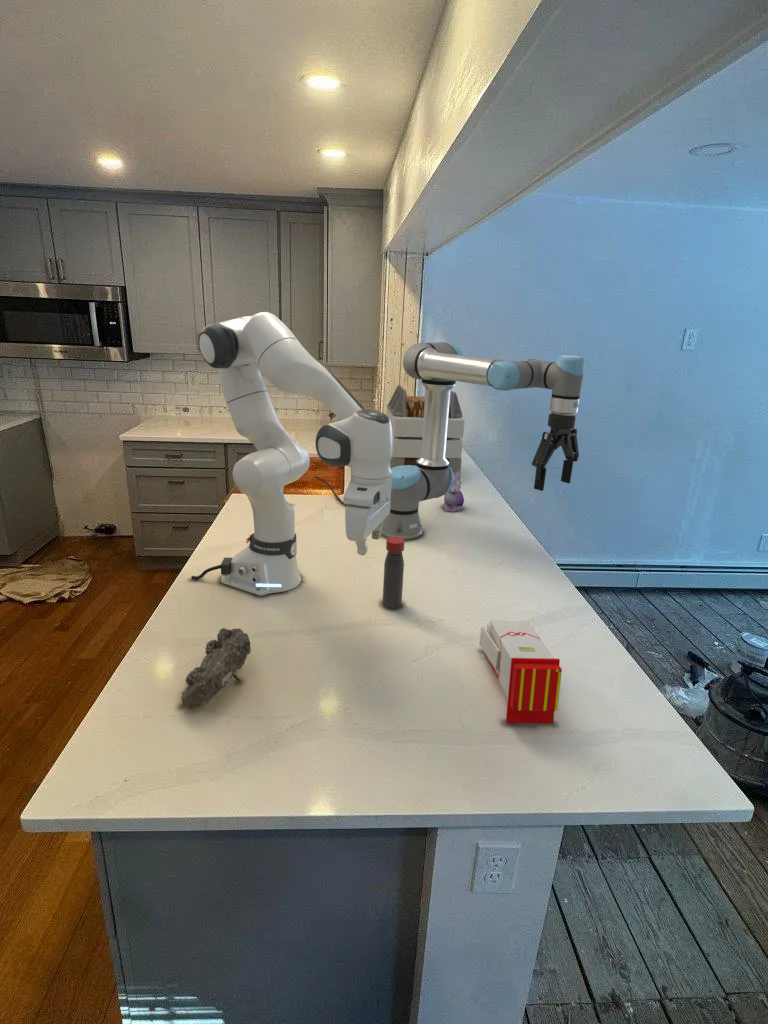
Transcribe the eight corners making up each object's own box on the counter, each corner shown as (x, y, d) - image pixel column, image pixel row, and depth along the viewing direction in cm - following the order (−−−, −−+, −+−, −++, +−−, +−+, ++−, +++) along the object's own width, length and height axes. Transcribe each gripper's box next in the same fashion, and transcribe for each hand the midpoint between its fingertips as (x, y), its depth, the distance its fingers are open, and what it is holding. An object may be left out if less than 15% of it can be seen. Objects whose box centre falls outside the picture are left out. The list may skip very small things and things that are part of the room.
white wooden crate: (382, 463, 289) (386, 382, 275) (445, 464, 293) (451, 384, 279) (390, 482, 257) (394, 392, 243) (460, 483, 261) (468, 394, 247)
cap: (407, 549, 147) (408, 540, 146) (394, 554, 144) (395, 545, 143) (395, 544, 150) (395, 535, 149) (382, 548, 147) (382, 539, 146)
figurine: (450, 513, 222) (453, 476, 217) (436, 505, 230) (439, 469, 225) (470, 510, 226) (473, 474, 221) (455, 502, 234) (458, 467, 229)
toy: (526, 605, 135) (570, 665, 105) (521, 658, 137) (563, 730, 108) (475, 604, 134) (506, 664, 105) (472, 657, 137) (500, 729, 108)
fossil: (203, 630, 128) (250, 600, 123) (232, 659, 131) (279, 630, 126) (159, 702, 109) (213, 669, 104) (194, 733, 111) (249, 703, 106)
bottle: (405, 604, 152) (409, 542, 146) (391, 610, 149) (395, 546, 143) (392, 597, 156) (395, 536, 150) (378, 603, 152) (381, 540, 146)
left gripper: (372, 473, 133) (371, 528, 137) (340, 498, 114) (339, 561, 119) (398, 476, 131) (396, 531, 136) (369, 502, 113) (368, 565, 117)
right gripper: (548, 419, 148) (537, 496, 155) (598, 411, 163) (586, 482, 171) (525, 414, 153) (515, 489, 160) (575, 407, 169) (564, 476, 176)
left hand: (369, 545), depth 127 cm, fingers open, 8 cm apart
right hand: (552, 485), depth 166 cm, fingers open, 13 cm apart
